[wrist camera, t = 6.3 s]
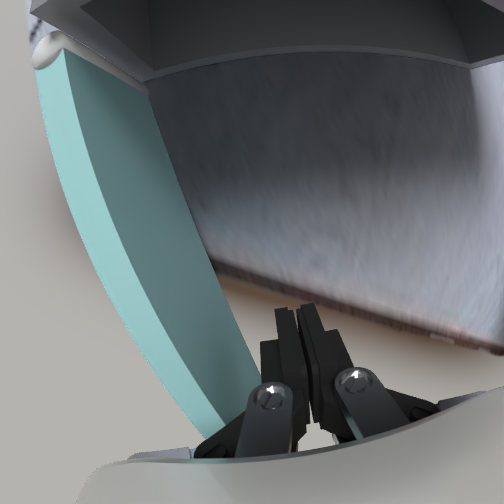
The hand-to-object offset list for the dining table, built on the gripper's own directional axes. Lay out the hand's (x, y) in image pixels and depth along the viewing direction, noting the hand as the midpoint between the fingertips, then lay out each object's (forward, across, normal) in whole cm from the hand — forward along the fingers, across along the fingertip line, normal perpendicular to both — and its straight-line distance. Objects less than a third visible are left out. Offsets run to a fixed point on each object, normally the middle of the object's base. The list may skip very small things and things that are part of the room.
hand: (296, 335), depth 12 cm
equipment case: (+4, -4, -18) cm, 19 cm away
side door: (+3, +4, -2) cm, 6 cm away
